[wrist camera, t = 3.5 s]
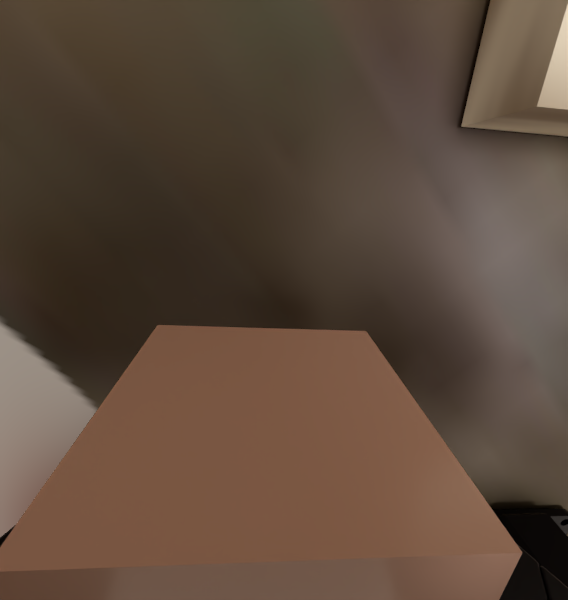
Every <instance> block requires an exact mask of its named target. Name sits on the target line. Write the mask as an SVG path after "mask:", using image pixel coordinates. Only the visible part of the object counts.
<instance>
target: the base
mask: <svg viewBox="0 0 568 600" xmlns="http://www.w3.org/2000/svg"><path fill="white" fill-rule="evenodd" d="M461 127H469V128H480V129H491V130H502V131H513V132H523V133H534V134H545V135H556V136H566V137H568V0H490V5H489V9H488V13H487V18H486V22H485V26H484V30H483V35H482V39H481V43H480V48H479V52H478V56H477V61H476V65H475V69H474V73H473V78H472V82H471V86H470V91H469V95H468V99H467V104H466V108H465V112H464V116H463V121H462V125H461Z"/></svg>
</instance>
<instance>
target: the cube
mask: <svg viewBox="0 0 568 600" xmlns="http://www.w3.org/2000/svg"><path fill="white" fill-rule="evenodd" d="M521 555H522V551H521V550H520V548H519V547H518V545H517V544H516V543H515V541H514V540H513V538H512V537H511V536H510V534H509V533H508V531H507V530H506V528H505V527H504V526H503V524H502V523H501V521H500V520H499V519H498V517H497V516H496V514H495V513H494V511H493V510H492V509H491V507H490V506H489V504H488V503H487V502H486V500H485V499H484V497H483V496H482V494H481V493H480V492H479V490H478V489H477V487H476V486H475V485H474V483H473V482H472V480H471V479H470V477H469V476H468V475H467V473H466V472H465V470H464V469H463V468H462V466H461V465H460V463H459V462H458V460H457V459H456V458H455V456H454V455H453V453H452V452H451V451H450V449H449V448H448V446H447V445H446V443H445V442H444V441H443V439H442V438H441V436H440V435H439V434H438V432H437V431H436V429H435V428H434V426H433V425H432V424H431V422H430V421H429V419H428V418H427V417H426V415H425V414H424V412H423V411H422V409H421V408H420V407H419V405H418V404H417V402H416V401H415V399H414V398H413V397H412V395H411V394H410V392H409V391H408V390H407V388H406V387H405V385H404V384H403V382H402V381H401V380H400V378H399V377H398V375H397V374H396V373H395V371H394V370H393V368H392V367H391V365H390V364H389V363H388V361H387V360H386V358H385V357H384V356H383V354H382V353H381V351H380V350H379V348H378V347H377V346H376V344H375V343H374V341H373V340H372V339H371V337H370V336H369V334H368V333H367V331H346V330H312V329H278V328H245V327H211V326H177V325H157V326H156V328H155V329H154V331H153V332H152V334H151V335H150V336H149V338H148V339H147V341H146V342H145V343H144V345H143V346H142V348H141V349H140V350H139V352H138V353H137V355H136V356H135V358H134V359H133V360H132V362H131V363H130V365H129V366H128V367H127V369H126V370H125V372H124V373H123V374H122V376H121V377H120V379H119V380H118V382H117V383H116V384H115V386H114V387H113V389H112V390H111V391H110V393H109V394H108V396H107V397H106V398H105V400H104V401H103V403H102V404H101V406H100V407H99V408H98V410H97V411H96V413H95V414H94V415H93V417H92V418H91V420H90V421H89V422H88V424H87V425H86V427H85V428H84V430H83V431H82V432H81V434H80V435H79V437H78V438H77V439H76V441H75V442H74V444H73V445H72V446H71V448H70V449H69V451H68V452H67V454H66V455H65V457H64V458H63V459H62V461H61V462H60V463H59V465H58V466H57V468H56V469H55V470H54V472H53V473H52V475H51V476H50V478H49V479H48V480H47V482H46V483H45V485H44V486H43V487H42V489H41V490H40V492H39V493H38V495H37V496H36V497H35V499H34V500H33V502H32V503H31V505H30V506H29V507H28V509H27V510H26V511H25V513H24V514H23V516H22V517H21V519H20V520H19V521H18V523H17V524H16V526H15V527H14V528H13V530H12V531H11V533H10V534H9V535H8V537H7V538H6V540H5V541H4V542H3V544H2V545H1V547H0V600H499V599H500V597H501V595H502V593H503V591H504V589H505V587H506V585H507V583H508V581H509V579H510V577H511V575H512V573H513V571H514V569H515V567H516V565H517V563H518V561H519V559H520V557H521Z"/></svg>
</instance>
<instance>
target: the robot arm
mask: <svg viewBox="0 0 568 600" xmlns="http://www.w3.org/2000/svg"><path fill="white" fill-rule="evenodd" d="M493 511H494V513H495V514H496V516H497V517H498V519H499V520H500V521H501V523H502V524H503V526H504V527H505V528H506V530H507V531H508V533H509V534H510V536H511V537H512V538H513V540H514V541H515V543H516V544H517V545H518V547H519V548H520V550H521V551H522V555H521V557H520V559H519V561H518V563H517V565H516V567H515V569H514V571H513V573H512V575H511V577H510V579H509V581H508V583H507V585H506V587H505V589H504V591H503V593H502V595H501V597H500V599H499V600H568V536H567V533H568V511H567V510H565V509H528V510H493ZM15 526H16V525H15ZM15 526H14V527H15ZM14 527H12V528H11V529H10V530H9V531H8V532H7V533H5V534H4V535H3V536H2V537H0V547H1V545H2V544H3V542H4V541H5V540H6V538H7V537H8V535H9V534H10V533H11V531H12V530H13V528H14Z"/></svg>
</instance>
